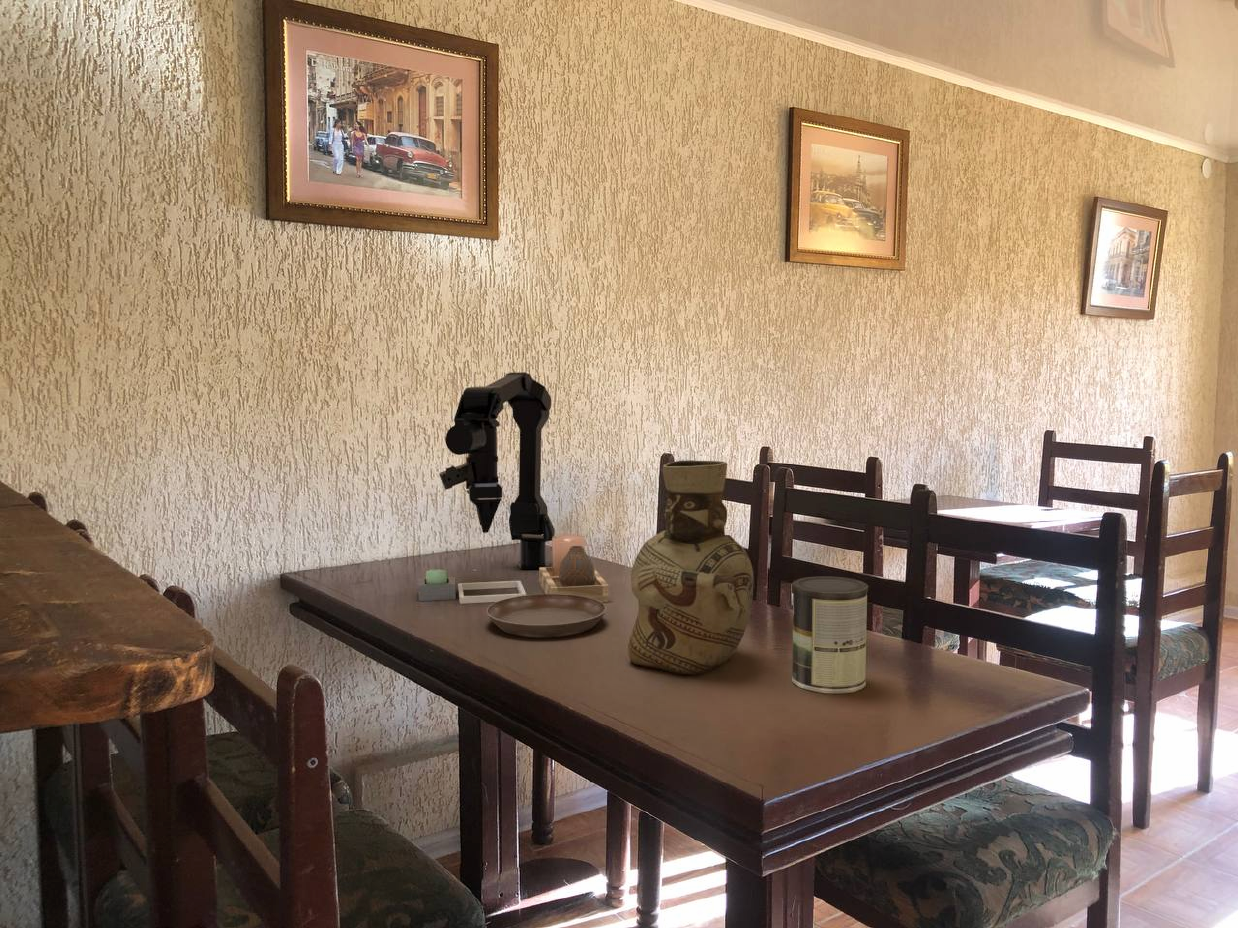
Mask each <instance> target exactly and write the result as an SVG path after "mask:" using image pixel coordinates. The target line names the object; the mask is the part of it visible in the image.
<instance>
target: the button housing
mask: <svg viewBox="0 0 1238 928" xmlns="http://www.w3.org/2000/svg"><path fill="white" fill-rule="evenodd" d="M417 581H418V583H417V585H418V587H417V588H418V592H417V593H418V595H417V596H418V602H427V601H429V602H430V601H433V602H434V601H447V600H449V601H451V600H453V601H454V600H456V597H457V596H456V593H457V592H456V579H455V576H447V583H440V584H426V577H419V578H418V580H417Z"/></svg>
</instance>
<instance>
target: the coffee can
mask: <svg viewBox="0 0 1238 928" xmlns="http://www.w3.org/2000/svg"><path fill="white" fill-rule="evenodd" d="M792 591H793V592H792V594H793V595H792V596H793V597H792V603H793V605H792V673H791V674H792V676H791V681H792V683H793V684H794V685H795V686H797V687H798V688H800V689H803V690H806V691H809V692H814V693H821V694H833V695H835V694H836V695H837V694H847V693H848V694H850V693H855V692H858V691H860V690H863V688H865V687H866V685H867V683H866V664H867V663H866V657H867V656H866V655H867V618H868V617H867V612H868V611H867V608H868V592H869V585H868V584H867V583H866V582H864V581H862V580H859V579H855V578H850V577H843V576H842V577H841V576H831V575H830V576H823V575H822V576H819V575H818V576H807V577H806V576H805V577H802V578H797V579H795V580H794V581H792Z"/></svg>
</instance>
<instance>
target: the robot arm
mask: <svg viewBox="0 0 1238 928" xmlns="http://www.w3.org/2000/svg"><path fill="white" fill-rule="evenodd" d="M506 402H507V403H508V405H509V407H510V408H511V409H512V418H513V421H515V423H516V425H517V426H518V429H519V456H518V459H519V460H518V461H519V464H518V465H519V466H518V467H519V468H518V495H517V497H516V498H515V500H514V501H513V502H512V501H511V503H510V505H509V513H510V514H509V517H508V526H509V527H508V528H509V533H510V538H511V541H519V545H520V546H519V549H520V554H519V555H520V561H517V566H518V568H519V570H537V569H538V570H539V568H540V567H550V565H549V563H548V562H547V553H546V552H547V545H546V543H548V542H551V541H552V537H553V536H556V535H555V532H556V531H555V528H554V525H553V523H552V520H551V519H550V515H549V514H548V513H549V512H548V505H547V504H546V502H545V500H544V499H543V497H542V495H541V481H542V480H541V476H542V475H541V473H542V468H541V467H542V430H543V428H544V427H545V425H546V423H547V422H548V420H549V419H550V411H551V408H552V398H551V395H550V394H549V391H548V390H547V388H546V387H545V386H544V385H543V384H542V383H540V382H538V381H537V380H534V378H533V376H531V374H530V373H527V372H519V371H518V372H509V373H506V374H505V375H504V376H503V377H501V378H499V379H497V380H495V381H493V382H492V383H489V384H488V385H483V386H482V385H481V386H469V387H466V388H465V389H464V390H463V392H462V393H461V396H460V400H459V402H458V406H457V408H456V412H455V415H454V418H453V422H454V425H453V426H450V428H449V429H448V431H447V432H446V436H445V439H444V441H445V445H446V447H447V449H448V450H449V452H451V454H454V455H457V456H462V455H467V456H466V458H465V463H462V464H460V465H459V464H458V465H455V466H454V465H451V466H449V467H445V470H443V471H441V472H439V478H440V480H441V483H442V484H443V487H444V490H445V491H446V490H450V489H453V487H455V486H457V485H460V484H462V483H465V489H466V494H468V498H469V501H470V502H471V503H472V504H473V505H474V506H475V509H476V512H477V518H478V523H479V525H480V527H481V531H482V533H484V534H485V533H487V534H488V533H489V532H490V529H491V526H492V524H493V522H494V521H493V520H494V519H495V516H496V513H497V511H498V508H499V507H500V503H501V502H502V498H503V487H502V486H501V484H500V483H499V476H498V462H499V456H498V436H497V435H498V431H497V430H498V427H500V426H501V425H500V422H499V420H497V419H498V417H499V415H500V413H501V412H502V411H503V410H504V409H505V408H504V404H505V403H506Z"/></svg>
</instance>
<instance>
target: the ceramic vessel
mask: <svg viewBox="0 0 1238 928" xmlns="http://www.w3.org/2000/svg"><path fill="white" fill-rule="evenodd" d="M727 471H728V463H727V462H726V461H717V460H692V459H691V460H677V461H672V462H668V463H664V464H663V466H662V475H663V480H664V486H665V488H666V491H667V495H666V499H665V507H664V508H665V513H664V520H665V522H666V528H667V529H664V530H663V531H660V532H659V533H657V534H655V535H653V536H652V537H650V538H649V539H647V540H646V541H645V542H644V543H643V545H642V546H641V548H640V549H639V551H638V554H636V555H637V556H636V557H635V559H634V561H633V564H632V568H631V572H630V583H631V584H630V585H631V591H632V593H633V595H634V597H635V598H636V600H637V601H638V602H637V603H638V612H637V617H636V619H635V623H634V625H633V628H632V631H631V634H630V636H629V640H628V644H627V654H628V657H629V659H630V661H631V662H632V663H633V664H635V665H638V666H641V667H645V668H647V669H648V668H651V669H657V670H661V671H666V672H669V673H672V674H675V675H676V674H677V675H682V676H683V675H685V676H697V675H701V674H705V673H708V672H710V671H712V670H714V669H715V668H719V667H720V666H722V665H724V664H725V663H726V662H728V660H729V659H730V658H731V657H732V656H733V655H734V653H735V651H736V650H737V648H738V647H739V645H740V643H741V642H742V639H743V637H744V634H745V631H746V628H747V625H748V624H749V619H750V614H751V611H752V606H753V605H752V603H753V598H754V597H753V595H754V591H753V590H754V570H753V566H752V562H751V560H750V557H749V555H748V553H747V552H746V550H745V548H743V546H742V545H741V544H740V543H739V542H738V541H736V540H735V538H733V537H732V535H731V534H725V526H726V523H727V520H728V509H727V507H726V505H725V504H724V502H723V492H724V489H725V482H726V479H727V477H726V476H727Z"/></svg>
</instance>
